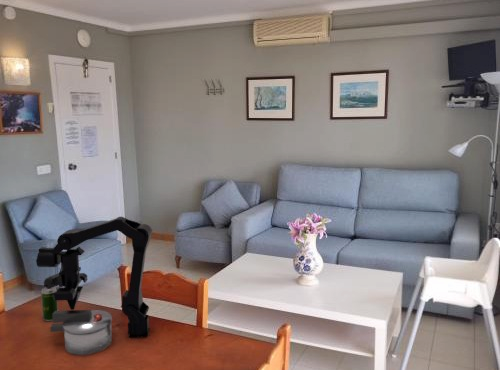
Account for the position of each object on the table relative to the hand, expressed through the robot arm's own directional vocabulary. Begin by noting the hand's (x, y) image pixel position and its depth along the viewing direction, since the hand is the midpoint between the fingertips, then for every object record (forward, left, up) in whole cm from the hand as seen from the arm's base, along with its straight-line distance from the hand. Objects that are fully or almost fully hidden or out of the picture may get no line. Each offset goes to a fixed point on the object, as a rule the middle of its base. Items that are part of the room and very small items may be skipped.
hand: (72, 309), depth 155 cm
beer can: (+13, -13, -10) cm, 21 cm away
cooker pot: (-5, +7, -9) cm, 13 cm away
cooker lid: (-5, +7, -2) cm, 9 cm away
